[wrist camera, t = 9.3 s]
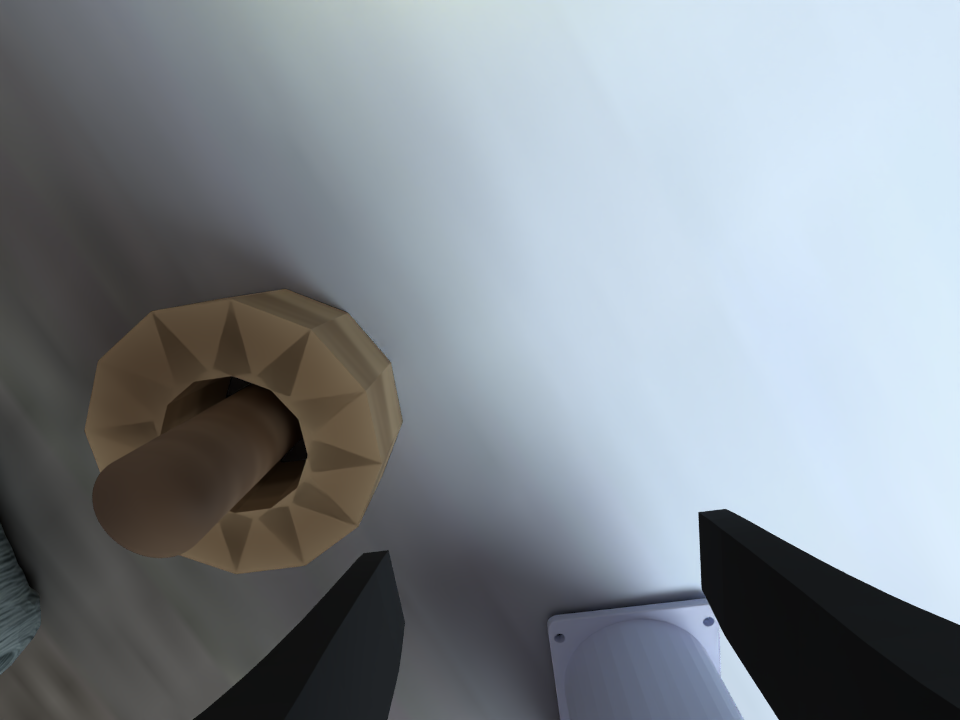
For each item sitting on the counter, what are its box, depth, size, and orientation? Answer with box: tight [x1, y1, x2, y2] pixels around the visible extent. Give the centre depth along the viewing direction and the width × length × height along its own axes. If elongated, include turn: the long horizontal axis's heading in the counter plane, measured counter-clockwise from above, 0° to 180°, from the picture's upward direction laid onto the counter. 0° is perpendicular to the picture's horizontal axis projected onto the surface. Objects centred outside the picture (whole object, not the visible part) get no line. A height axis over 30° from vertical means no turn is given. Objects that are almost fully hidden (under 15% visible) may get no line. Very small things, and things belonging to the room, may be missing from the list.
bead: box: [85, 289, 403, 574], centre depth 18 cm, size 10×10×4 cm
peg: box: [92, 383, 303, 558], centre depth 16 cm, size 3×3×8 cm
